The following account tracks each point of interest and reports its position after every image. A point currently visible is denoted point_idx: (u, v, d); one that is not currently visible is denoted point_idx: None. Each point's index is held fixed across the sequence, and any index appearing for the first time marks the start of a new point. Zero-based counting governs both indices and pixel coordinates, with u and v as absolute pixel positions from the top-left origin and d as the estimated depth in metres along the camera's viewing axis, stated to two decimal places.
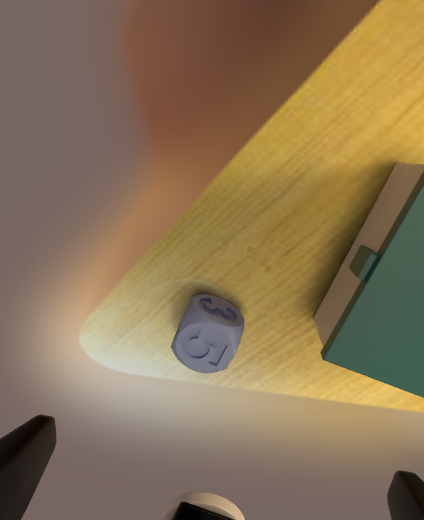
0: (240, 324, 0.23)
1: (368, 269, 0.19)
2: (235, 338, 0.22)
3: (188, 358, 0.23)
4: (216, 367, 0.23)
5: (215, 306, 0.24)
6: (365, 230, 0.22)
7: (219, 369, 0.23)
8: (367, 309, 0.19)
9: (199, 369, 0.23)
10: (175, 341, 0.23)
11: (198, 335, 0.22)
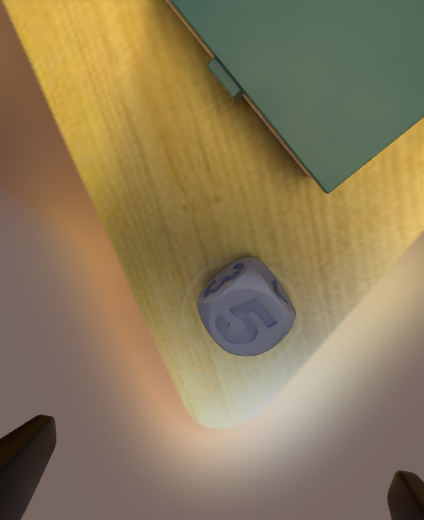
0: (247, 266, 0.18)
1: (227, 77, 0.13)
2: (254, 282, 0.17)
3: (251, 346, 0.18)
4: (278, 323, 0.17)
5: (220, 280, 0.19)
6: None
7: (284, 321, 0.17)
8: (280, 101, 0.13)
9: (271, 342, 0.18)
10: (222, 347, 0.18)
11: (228, 320, 0.18)
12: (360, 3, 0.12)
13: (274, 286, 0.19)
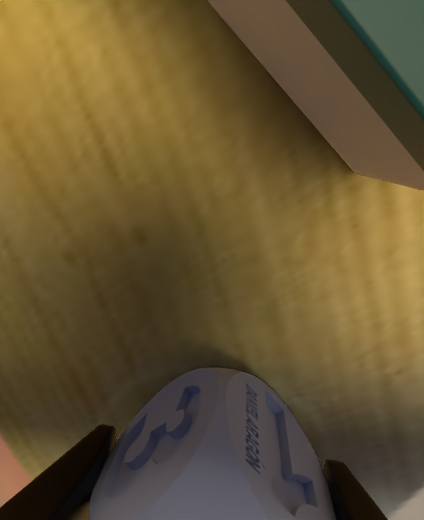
0: (205, 426, 0.06)
1: None
2: (219, 497, 0.06)
3: None
4: None
5: (150, 431, 0.08)
6: None
7: None
8: None
9: None
10: None
11: None
12: None
13: (280, 439, 0.08)
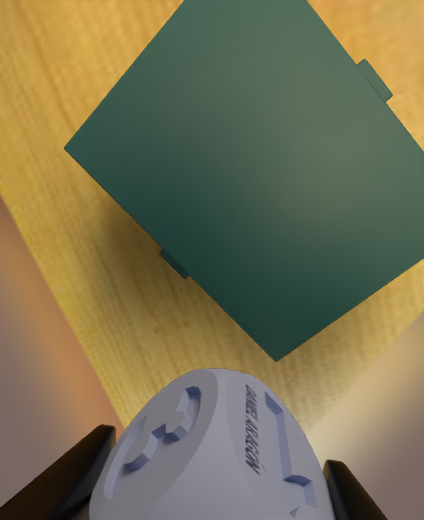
0: (205, 427, 0.06)
1: (178, 263, 0.14)
2: (219, 498, 0.06)
3: None
4: None
5: (150, 432, 0.08)
6: None
7: None
8: (226, 288, 0.14)
9: None
10: None
11: None
12: (292, 214, 0.13)
13: (280, 440, 0.08)
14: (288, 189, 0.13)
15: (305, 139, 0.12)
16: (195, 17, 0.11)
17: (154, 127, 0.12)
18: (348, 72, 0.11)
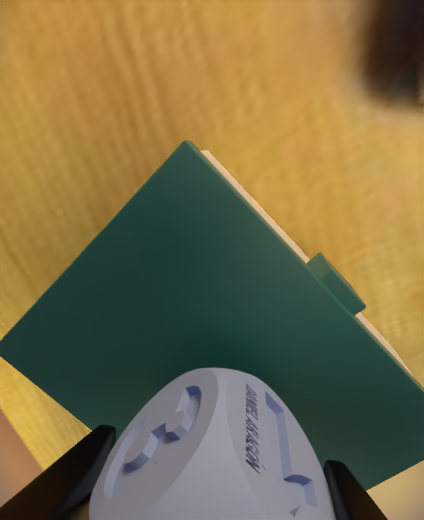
0: (205, 426, 0.06)
1: None
2: (219, 497, 0.06)
3: None
4: None
5: (150, 432, 0.08)
6: None
7: None
8: None
9: None
10: None
11: None
12: None
13: (280, 439, 0.08)
14: None
15: (266, 353, 0.10)
16: (131, 231, 0.10)
17: (93, 334, 0.11)
18: (312, 291, 0.10)
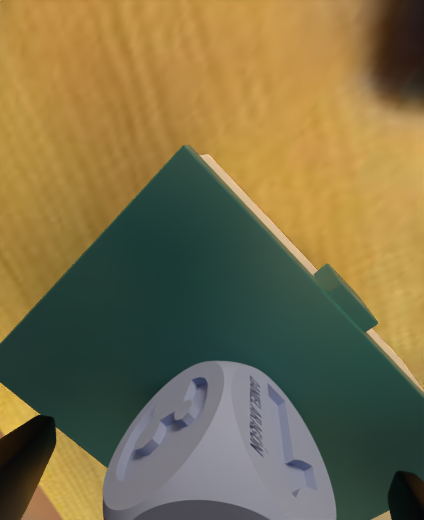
0: (212, 413, 0.07)
1: None
2: (226, 477, 0.06)
3: None
4: None
5: (159, 421, 0.08)
6: None
7: None
8: None
9: None
10: None
11: None
12: None
13: (282, 428, 0.09)
14: None
15: (271, 372, 0.10)
16: (126, 242, 0.09)
17: (86, 351, 0.10)
18: (320, 307, 0.09)
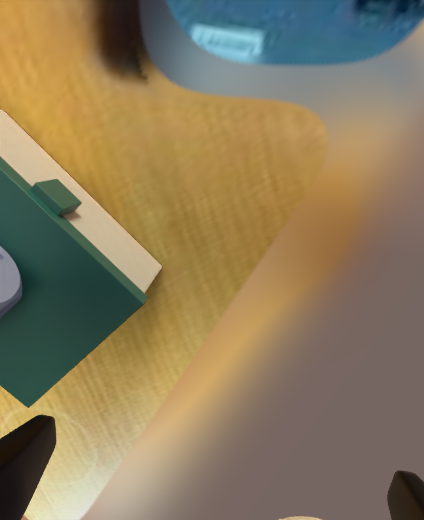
0: None
1: None
2: None
3: None
4: None
5: None
6: None
7: None
8: None
9: None
10: None
11: None
12: None
13: None
14: None
15: (1, 242, 0.15)
16: None
17: None
18: (18, 195, 0.14)
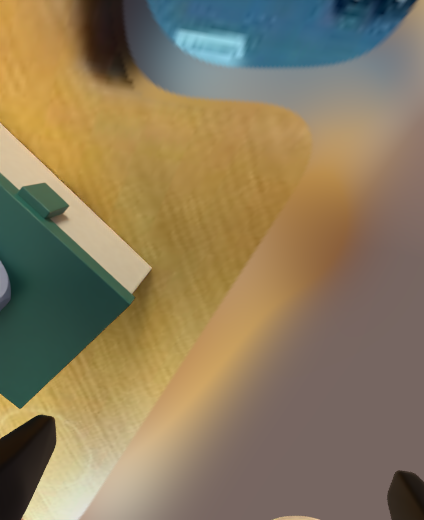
0: None
1: None
2: None
3: None
4: None
5: None
6: None
7: None
8: None
9: None
10: None
11: None
12: None
13: None
14: None
15: None
16: None
17: None
18: (5, 199, 0.15)
